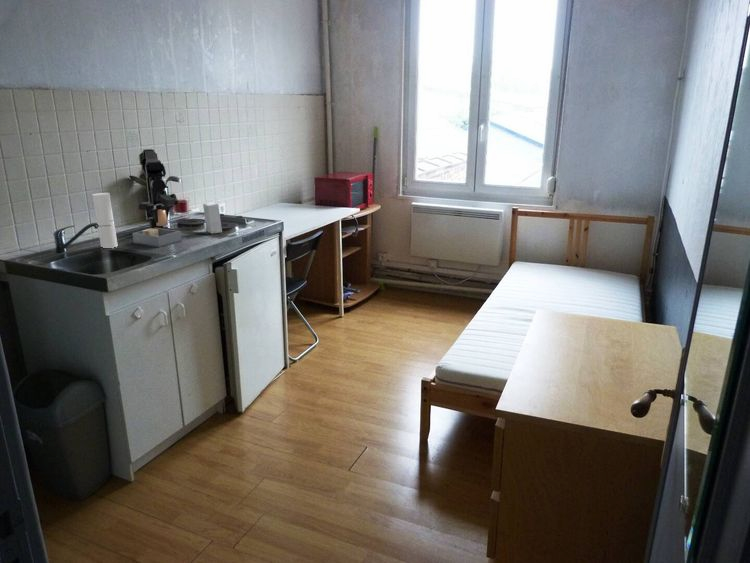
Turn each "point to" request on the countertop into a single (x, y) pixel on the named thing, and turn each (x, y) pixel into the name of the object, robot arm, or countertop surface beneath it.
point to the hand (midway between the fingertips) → (161, 221)
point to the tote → (157, 238)
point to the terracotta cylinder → (161, 217)
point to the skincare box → (212, 218)
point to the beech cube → (151, 232)
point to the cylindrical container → (105, 220)
